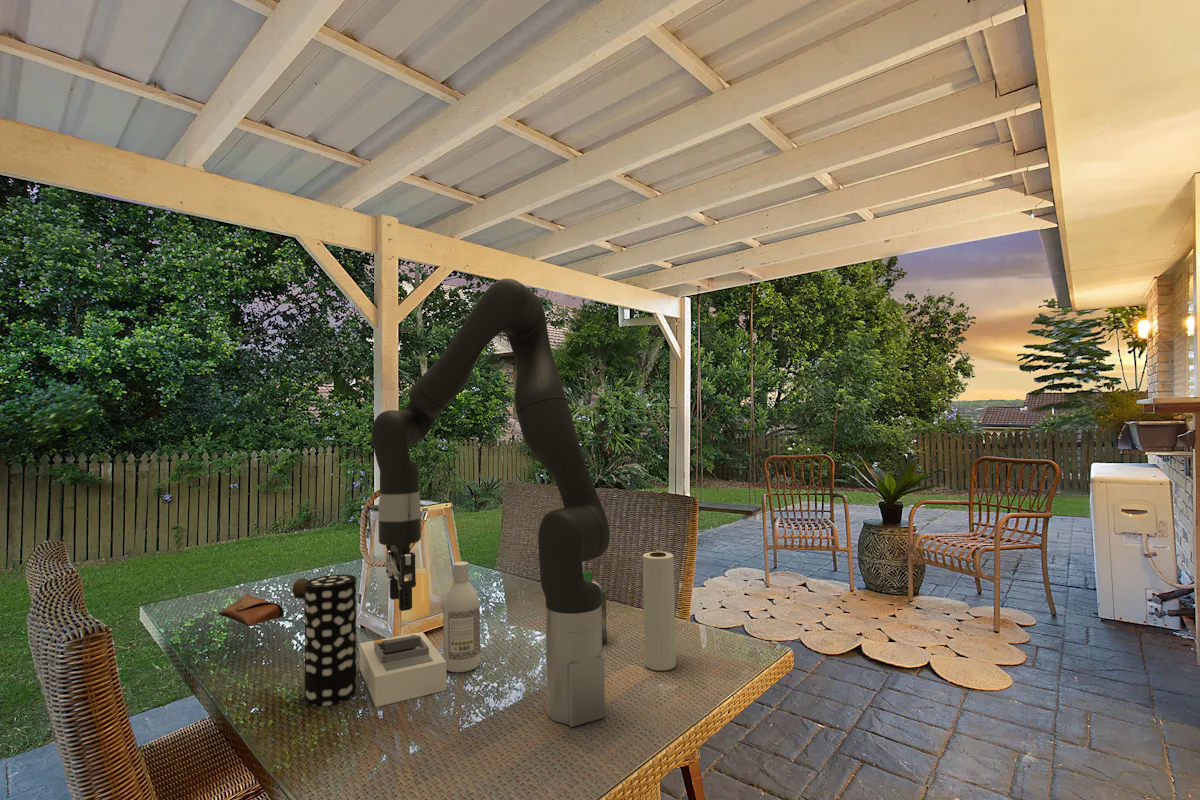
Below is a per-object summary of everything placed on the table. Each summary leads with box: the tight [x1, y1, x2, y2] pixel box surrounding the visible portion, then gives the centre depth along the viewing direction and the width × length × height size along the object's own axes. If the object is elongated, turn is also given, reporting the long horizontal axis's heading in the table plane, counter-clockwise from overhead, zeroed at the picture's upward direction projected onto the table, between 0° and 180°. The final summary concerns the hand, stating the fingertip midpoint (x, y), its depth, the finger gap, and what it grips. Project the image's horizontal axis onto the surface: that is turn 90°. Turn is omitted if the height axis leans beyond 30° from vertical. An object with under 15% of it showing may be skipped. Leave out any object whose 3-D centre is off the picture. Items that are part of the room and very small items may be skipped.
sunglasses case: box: [217, 593, 285, 626], centre depth 152 cm, size 18×7×7 cm
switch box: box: [359, 631, 448, 708], centre depth 112 cm, size 18×12×6 cm, turn 30°
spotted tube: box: [304, 574, 357, 707], centre depth 106 cm, size 8×8×20 cm
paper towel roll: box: [642, 549, 677, 672], centre depth 117 cm, size 7×6×21 cm
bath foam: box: [442, 561, 481, 673], centre depth 118 cm, size 7×7×20 cm
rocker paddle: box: [382, 635, 421, 653], centre depth 112 cm, size 5×6×2 cm
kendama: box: [292, 578, 309, 598], centre depth 165 cm, size 6×10×20 cm
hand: (400, 604), depth 112 cm, fingers open, 8 cm apart
